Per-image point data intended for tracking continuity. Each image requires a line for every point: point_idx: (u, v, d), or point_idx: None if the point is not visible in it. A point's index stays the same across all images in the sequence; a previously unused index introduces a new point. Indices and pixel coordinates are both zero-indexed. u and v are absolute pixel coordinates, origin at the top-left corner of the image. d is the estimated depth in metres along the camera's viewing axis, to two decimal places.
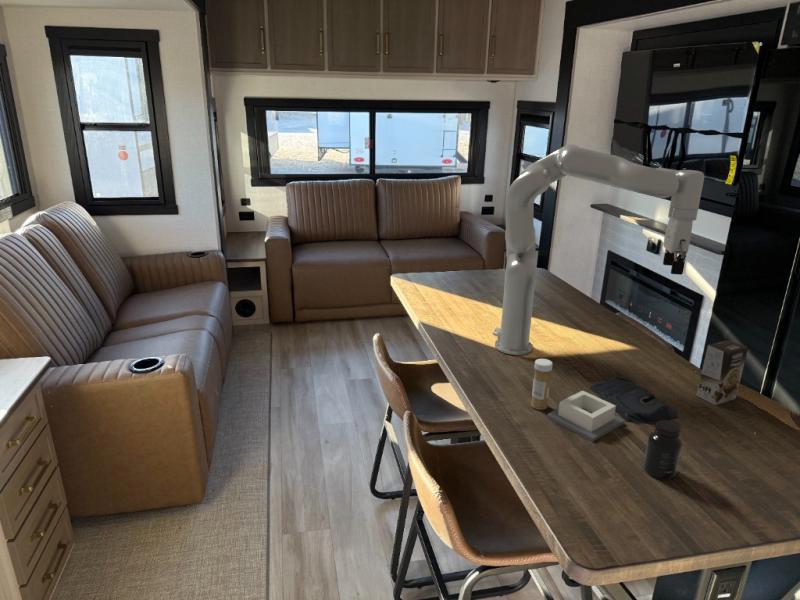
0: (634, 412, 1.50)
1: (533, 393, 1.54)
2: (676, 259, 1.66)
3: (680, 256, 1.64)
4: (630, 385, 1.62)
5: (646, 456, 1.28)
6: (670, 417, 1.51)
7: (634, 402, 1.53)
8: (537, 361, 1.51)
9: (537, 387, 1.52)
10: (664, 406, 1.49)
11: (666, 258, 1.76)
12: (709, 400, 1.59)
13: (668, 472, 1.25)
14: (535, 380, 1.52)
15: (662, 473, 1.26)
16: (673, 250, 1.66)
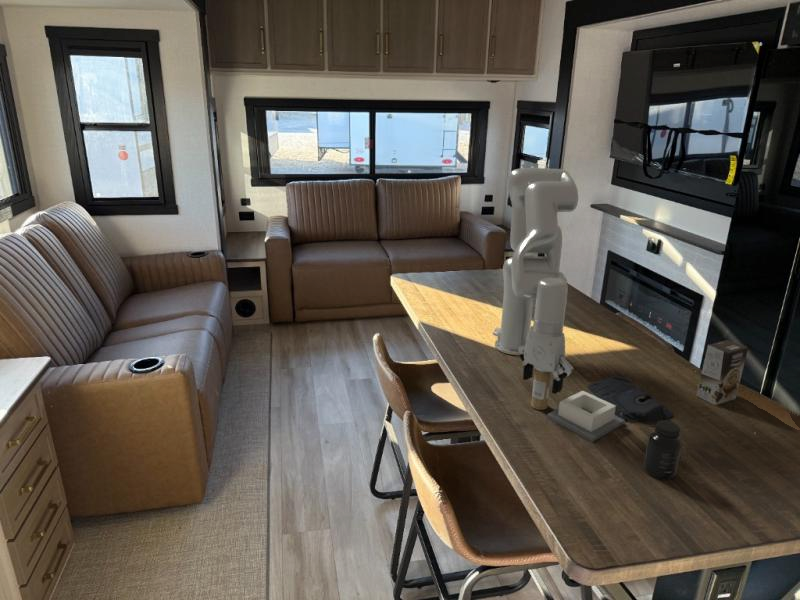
0: (629, 412, 1.50)
1: (533, 393, 1.54)
2: (559, 378, 1.46)
3: (566, 375, 1.45)
4: (627, 385, 1.62)
5: (646, 456, 1.28)
6: (666, 417, 1.51)
7: (630, 402, 1.53)
8: None
9: (537, 387, 1.52)
10: (659, 406, 1.49)
11: (527, 372, 1.55)
12: (709, 400, 1.59)
13: (668, 472, 1.25)
14: (535, 380, 1.52)
15: (662, 473, 1.26)
16: (554, 369, 1.46)
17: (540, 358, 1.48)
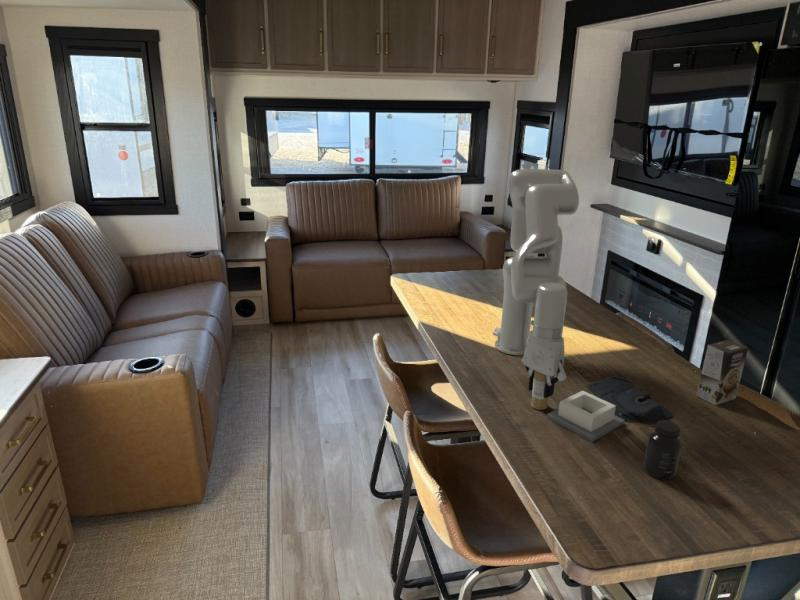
0: (628, 411, 1.50)
1: (533, 393, 1.54)
2: (551, 383, 1.49)
3: (557, 381, 1.48)
4: (626, 385, 1.62)
5: (646, 456, 1.28)
6: (665, 417, 1.51)
7: (629, 402, 1.54)
8: None
9: (537, 387, 1.52)
10: (659, 406, 1.49)
11: (532, 383, 1.54)
12: (709, 400, 1.59)
13: (668, 472, 1.25)
14: (535, 380, 1.52)
15: (662, 473, 1.26)
16: (554, 374, 1.47)
17: (539, 362, 1.49)
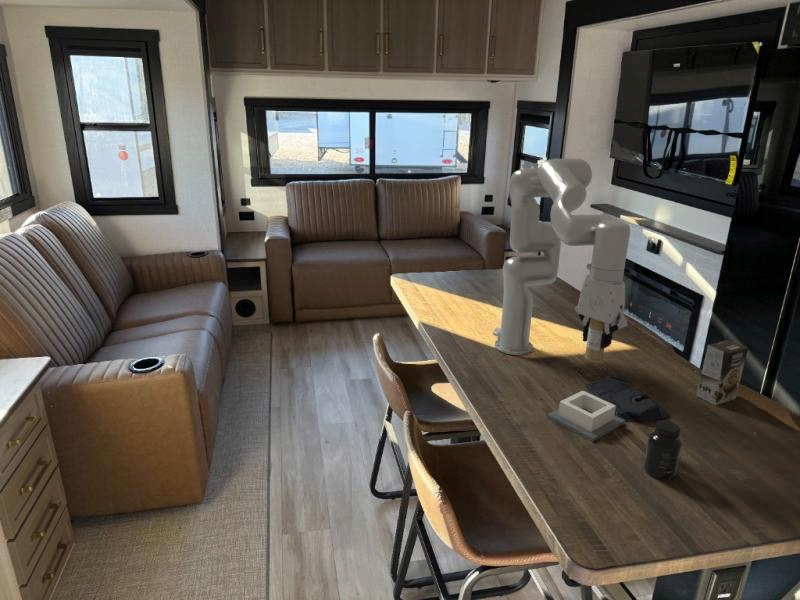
0: (625, 411, 1.51)
1: (588, 344, 1.41)
2: (609, 331, 1.37)
3: (616, 329, 1.36)
4: (624, 384, 1.62)
5: (646, 456, 1.28)
6: (662, 417, 1.51)
7: (626, 401, 1.54)
8: None
9: (593, 337, 1.40)
10: (655, 406, 1.49)
11: (587, 333, 1.42)
12: (709, 400, 1.59)
13: (668, 472, 1.25)
14: (591, 329, 1.40)
15: (662, 473, 1.26)
16: (614, 320, 1.34)
17: (597, 309, 1.36)
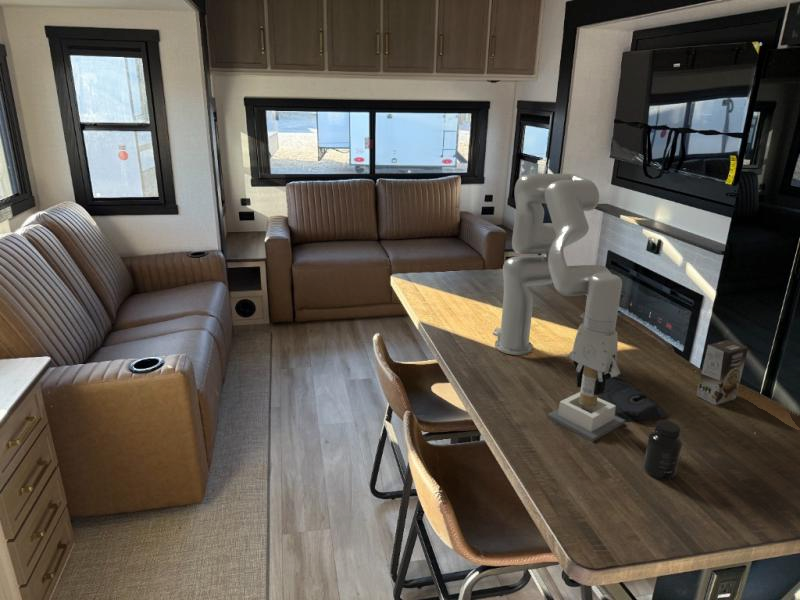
0: (623, 411, 1.51)
1: (582, 390, 1.46)
2: (602, 379, 1.41)
3: (609, 377, 1.40)
4: (623, 384, 1.62)
5: (646, 456, 1.28)
6: (660, 417, 1.51)
7: (624, 401, 1.54)
8: None
9: (587, 384, 1.44)
10: (653, 405, 1.49)
11: (581, 379, 1.46)
12: (709, 400, 1.59)
13: (668, 472, 1.25)
14: (585, 376, 1.44)
15: (662, 473, 1.26)
16: (606, 369, 1.39)
17: (591, 357, 1.41)
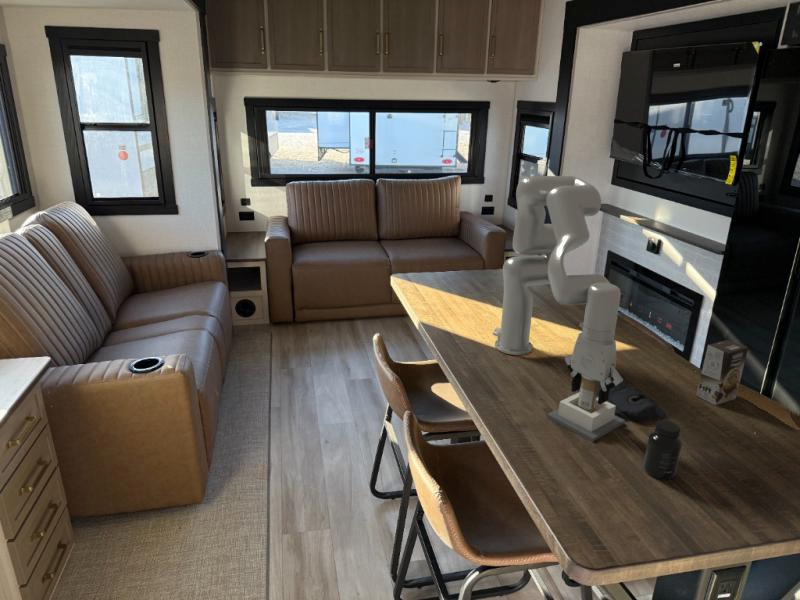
0: (621, 411, 1.51)
1: (580, 403, 1.47)
2: (606, 389, 1.41)
3: (613, 386, 1.40)
4: (622, 384, 1.62)
5: (646, 456, 1.28)
6: (658, 417, 1.51)
7: (623, 401, 1.54)
8: None
9: (584, 397, 1.45)
10: (652, 405, 1.49)
11: (575, 384, 1.48)
12: (709, 400, 1.59)
13: (668, 472, 1.25)
14: (582, 389, 1.46)
15: (662, 473, 1.26)
16: (605, 379, 1.39)
17: (589, 366, 1.41)
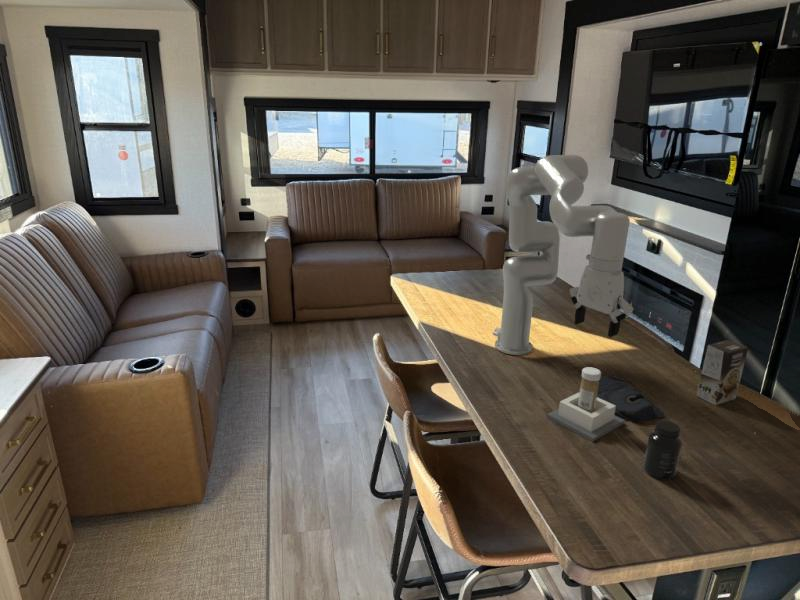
0: (619, 410, 1.51)
1: (580, 403, 1.47)
2: (617, 320, 1.37)
3: (625, 316, 1.35)
4: (620, 384, 1.62)
5: (646, 456, 1.28)
6: (656, 417, 1.51)
7: (620, 401, 1.54)
8: (585, 370, 1.45)
9: (584, 397, 1.45)
10: (649, 405, 1.49)
11: (579, 316, 1.45)
12: (709, 400, 1.59)
13: (668, 472, 1.25)
14: (582, 390, 1.45)
15: (662, 473, 1.26)
16: (612, 310, 1.36)
17: (596, 299, 1.38)
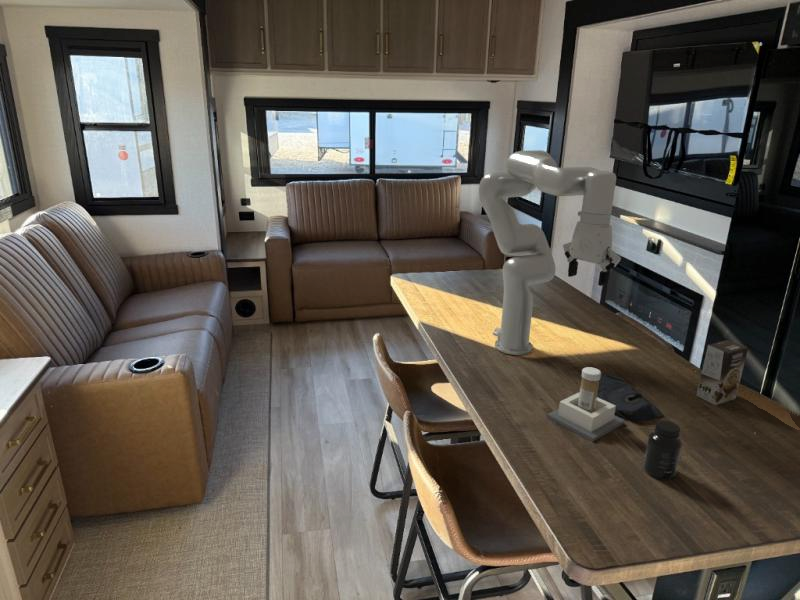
0: (617, 409, 1.51)
1: (580, 403, 1.47)
2: (606, 269, 1.50)
3: (613, 265, 1.49)
4: (619, 384, 1.62)
5: (646, 456, 1.28)
6: (654, 416, 1.51)
7: (619, 400, 1.54)
8: (585, 370, 1.45)
9: (584, 397, 1.45)
10: (648, 405, 1.49)
11: (572, 269, 1.59)
12: (709, 400, 1.59)
13: (668, 472, 1.25)
14: (582, 390, 1.45)
15: (662, 473, 1.26)
16: (602, 260, 1.50)
17: (587, 251, 1.52)
